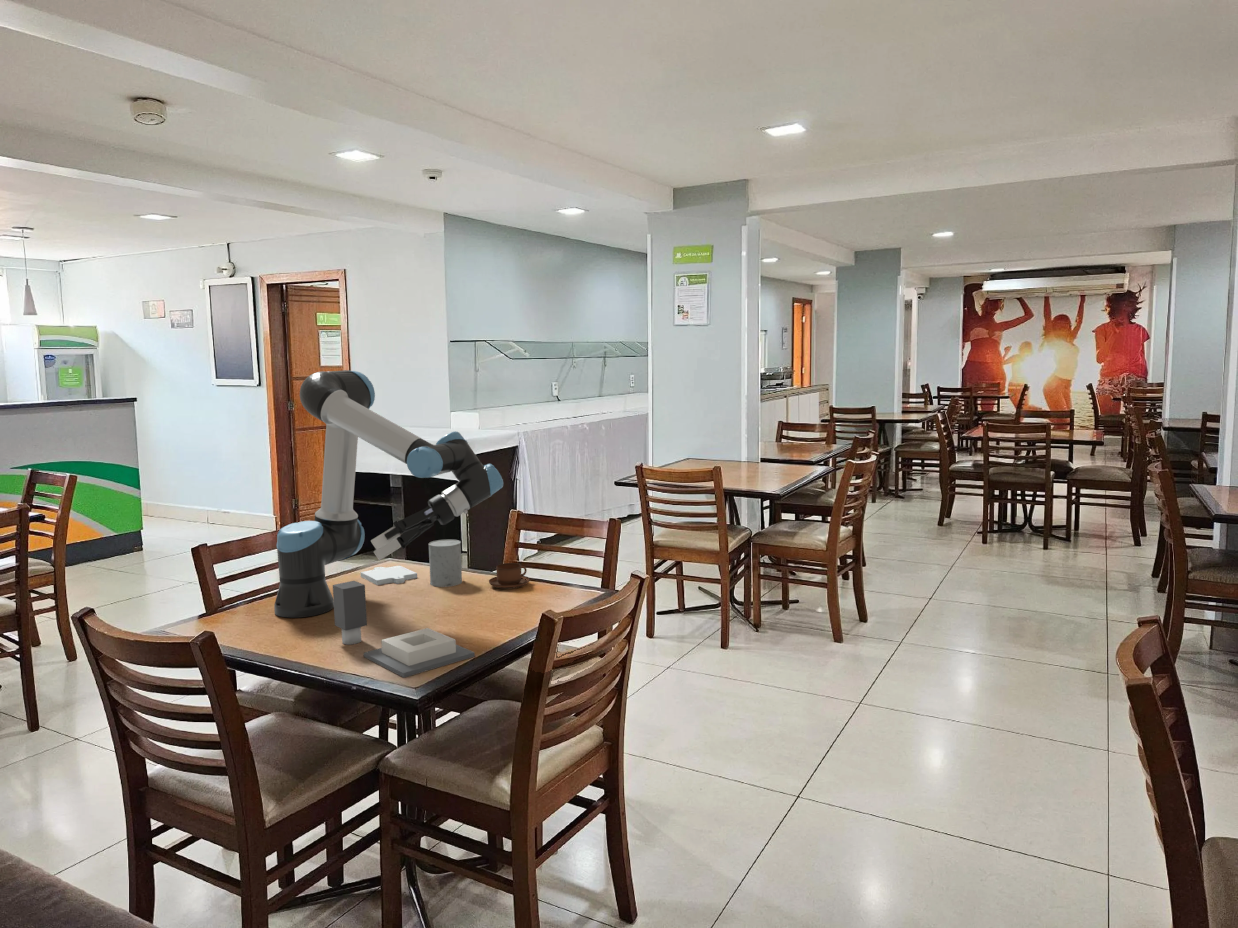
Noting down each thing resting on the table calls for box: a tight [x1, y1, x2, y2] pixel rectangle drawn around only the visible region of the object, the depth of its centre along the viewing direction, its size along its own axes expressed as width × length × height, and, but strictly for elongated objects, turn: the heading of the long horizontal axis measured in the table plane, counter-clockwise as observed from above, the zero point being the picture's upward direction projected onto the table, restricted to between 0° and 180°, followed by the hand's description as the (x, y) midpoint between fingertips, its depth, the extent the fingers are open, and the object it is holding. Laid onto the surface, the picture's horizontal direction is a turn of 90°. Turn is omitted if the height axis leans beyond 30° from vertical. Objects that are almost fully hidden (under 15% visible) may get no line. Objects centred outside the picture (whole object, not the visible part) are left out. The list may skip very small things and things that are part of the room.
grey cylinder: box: [428, 538, 463, 588], centre depth 258 cm, size 10×10×12 cm
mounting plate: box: [360, 565, 418, 586], centre depth 266 cm, size 18×13×2 cm
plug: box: [332, 580, 368, 646], centre depth 205 cm, size 6×6×14 cm
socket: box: [363, 627, 476, 678], centre depth 195 cm, size 18×18×4 cm
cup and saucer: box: [488, 562, 530, 590], centre depth 254 cm, size 12×12×6 cm
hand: (374, 551), depth 213 cm, fingers open, 13 cm apart
